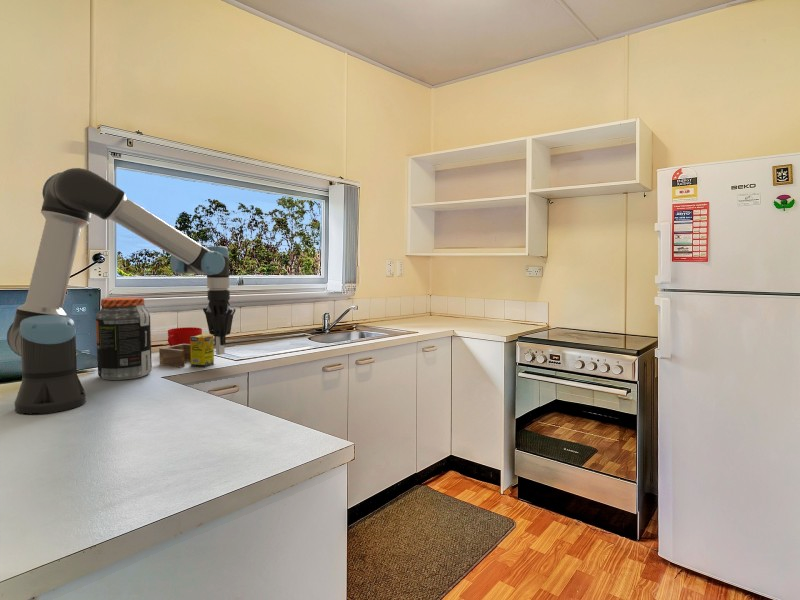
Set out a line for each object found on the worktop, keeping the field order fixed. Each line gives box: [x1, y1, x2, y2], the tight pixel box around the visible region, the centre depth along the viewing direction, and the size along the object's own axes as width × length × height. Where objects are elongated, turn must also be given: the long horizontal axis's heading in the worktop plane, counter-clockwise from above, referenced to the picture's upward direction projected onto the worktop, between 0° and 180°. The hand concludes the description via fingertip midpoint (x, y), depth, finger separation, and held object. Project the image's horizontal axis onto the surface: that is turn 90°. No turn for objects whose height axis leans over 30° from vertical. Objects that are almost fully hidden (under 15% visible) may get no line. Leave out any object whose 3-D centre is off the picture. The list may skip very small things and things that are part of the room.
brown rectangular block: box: [158, 344, 191, 368], centre depth 183 cm, size 12×10×6 cm
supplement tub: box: [95, 297, 153, 381], centre depth 161 cm, size 16×16×26 cm
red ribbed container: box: [167, 326, 203, 346], centre depth 199 cm, size 13×17×10 cm
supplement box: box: [190, 334, 215, 368], centre depth 179 cm, size 6×6×11 cm
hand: (220, 353), depth 176 cm, fingers closed
